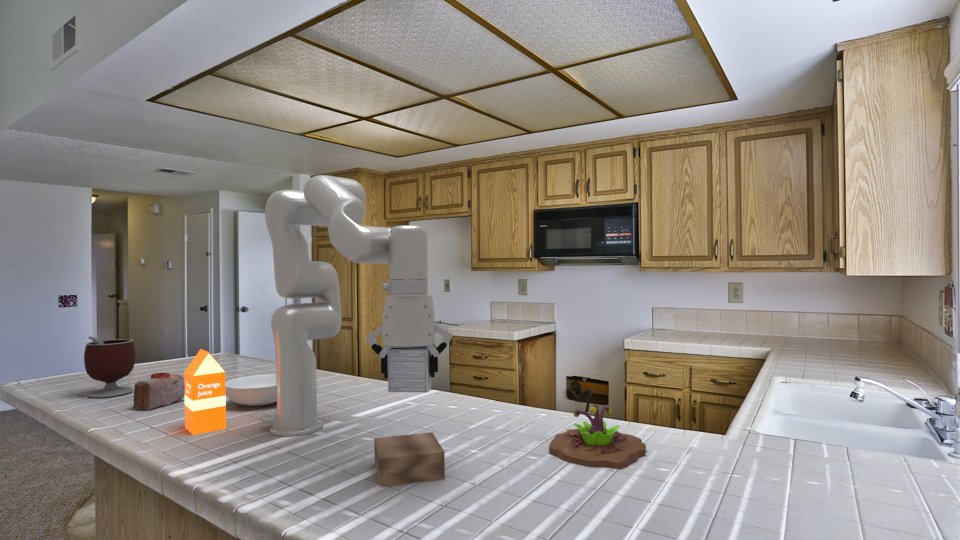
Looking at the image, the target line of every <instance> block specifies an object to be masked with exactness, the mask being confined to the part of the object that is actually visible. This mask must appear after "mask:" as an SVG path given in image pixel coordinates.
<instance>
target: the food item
mask: <svg viewBox="0 0 960 540" xmlns="http://www.w3.org/2000/svg"><path fill="white" fill-rule="evenodd" d="M183 398H185V381H184V377H183V376H182V375H181V374H179V373H168V372H166V371H165V372H155V373H152V374H151V375H150V378H147V379H143V380H139V381H137V382H135V383H134V388H133V405H132V408H133V409H134V410H139V411H150V410H153V409H156V408H159V407H163V406H164V407H165V406H170V405H172V404H173V403H175V402H178V401H180V400H182V399H183Z"/></svg>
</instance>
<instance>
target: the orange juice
mask: <svg viewBox="0 0 960 540" xmlns="http://www.w3.org/2000/svg"><path fill="white" fill-rule="evenodd" d="M183 373H184V377H183V378H184V381H185V397H184V428H185V429H186V430H187V431H188V432H189V433H190V434H191V435H192V436H194V435H200V434H205V433H210V432H211V433H212V432H216V431H220V430H226V429H227V414H226V413H227V409H226V406H227V396H226V392H225V382H226V371H225V370H224V368H222V366H221V365H220V364H219V362H217V360H216V359H215V358H214V357H213V356H212V355H211V353H210V352H209V351H207V350H204V349H203V348H200V349H199V351H198V352H197V353H196V355H195V357H194V358H193V359H192V360H191V362H190V363H189V365H188V367H187V368H186V369H185V370H184V372H183Z"/></svg>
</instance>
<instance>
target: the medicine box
mask: <svg viewBox="0 0 960 540" xmlns="http://www.w3.org/2000/svg"><path fill="white" fill-rule="evenodd" d="M387 354H388V378H387V392H388V393H429V392H430V389H431V388H432V386H433V384H432V383H433V382H432V381H433V378H432V377H431V367H430V357H431V356H432V353H431V352H430V350H429V349H428V348H427V347H405V348H391V349H387Z"/></svg>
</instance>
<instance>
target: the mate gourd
mask: <svg viewBox="0 0 960 540" xmlns="http://www.w3.org/2000/svg"><path fill="white" fill-rule="evenodd" d="M88 340H92V341H90V342H89V341H88V342H86V343H85V348H84V353H83V364H84V368H85V369H84V370H85V372H86V374H87V375H88V376H89V377H90V378H91V379H92V380H95V381H98V382H101V383H102V382H103V383H105V385H104V386H103V388H100V389H95V390H93V391H89V392H88V393H87V397H89V398H110V397H115V396H122V395H126V394H129V393H131V392H134V388H133V387H131V386H118V384H117V382H118V381H119V380H121V379H123V378H125V377H127V376H129V375H130V374H131V372H132V371H133V370H134V368H135V363H136V347H135V343H134V339H132V338H130V339H129V338H124V339H123V338H121V339H119V338H118V339H117V338H116V339H106V340H105V339H104V340H101V339H99V338H97V337H94V336H88Z"/></svg>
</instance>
